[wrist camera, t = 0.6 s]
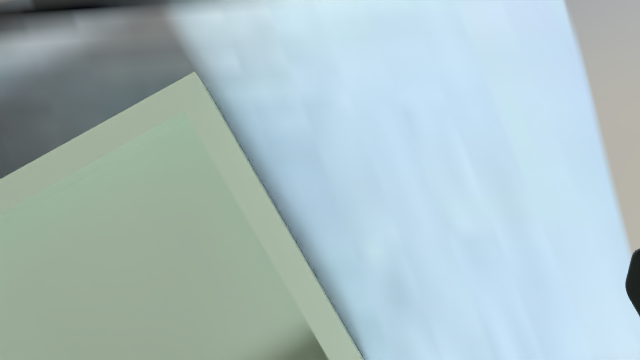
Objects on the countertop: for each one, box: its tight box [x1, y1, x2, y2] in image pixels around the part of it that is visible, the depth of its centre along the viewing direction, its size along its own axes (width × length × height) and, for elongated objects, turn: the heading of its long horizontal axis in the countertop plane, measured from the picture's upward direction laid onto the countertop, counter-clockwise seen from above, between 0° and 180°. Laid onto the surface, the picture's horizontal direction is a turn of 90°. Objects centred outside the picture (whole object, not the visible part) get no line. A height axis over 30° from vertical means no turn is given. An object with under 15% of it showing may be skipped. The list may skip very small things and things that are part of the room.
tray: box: [0, 71, 364, 360], centre depth 22 cm, size 14×14×4 cm
